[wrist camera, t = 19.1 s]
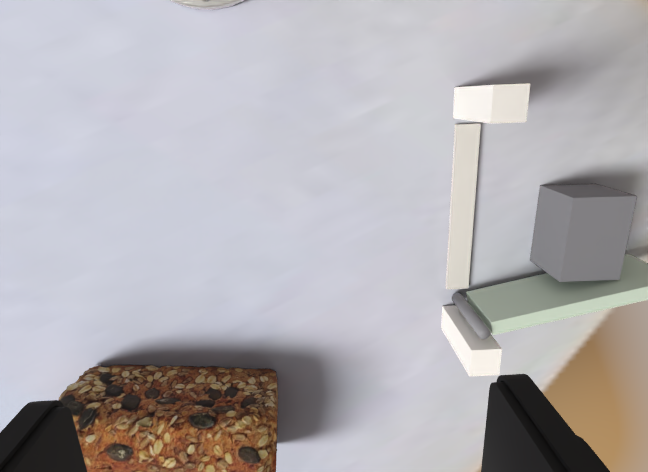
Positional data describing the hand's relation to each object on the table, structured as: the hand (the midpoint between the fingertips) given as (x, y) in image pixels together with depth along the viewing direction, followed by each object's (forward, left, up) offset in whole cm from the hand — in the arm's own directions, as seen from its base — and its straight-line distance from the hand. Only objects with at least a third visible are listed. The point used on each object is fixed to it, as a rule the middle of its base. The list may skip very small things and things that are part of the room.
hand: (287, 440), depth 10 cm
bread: (+22, -12, -29) cm, 38 cm away
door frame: (+2, +14, -28) cm, 32 cm away
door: (+9, +21, -28) cm, 36 cm away
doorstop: (+4, +23, -28) cm, 37 cm away
